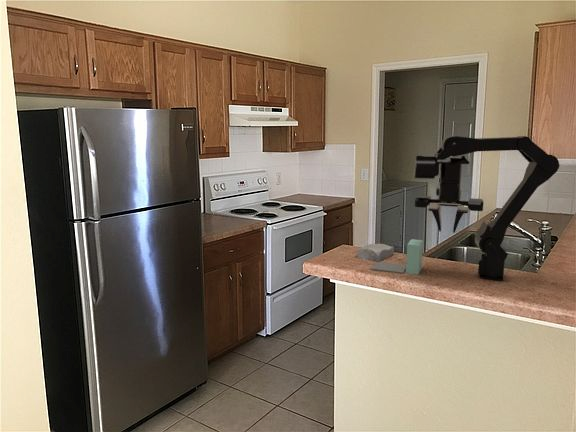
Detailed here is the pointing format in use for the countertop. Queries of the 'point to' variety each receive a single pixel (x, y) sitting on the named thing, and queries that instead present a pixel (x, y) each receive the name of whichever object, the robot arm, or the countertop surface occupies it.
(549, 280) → the countertop surface
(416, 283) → the countertop surface
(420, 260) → the slab
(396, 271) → the mat
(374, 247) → the stone block
